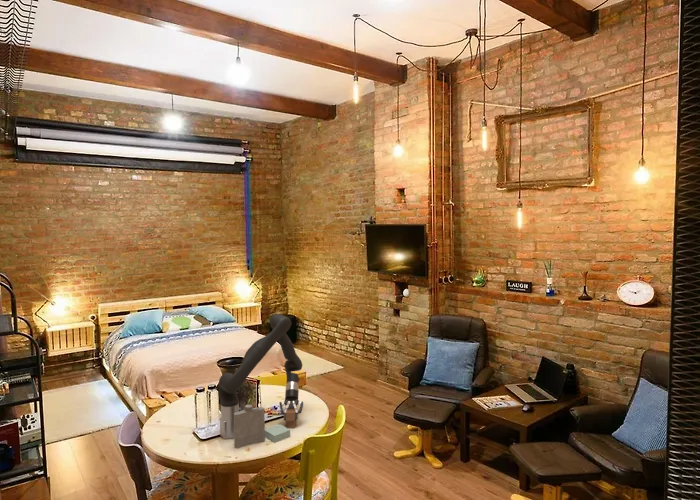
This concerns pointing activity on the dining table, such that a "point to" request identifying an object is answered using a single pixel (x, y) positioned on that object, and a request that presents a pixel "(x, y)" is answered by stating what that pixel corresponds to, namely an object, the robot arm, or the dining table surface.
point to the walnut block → (290, 418)
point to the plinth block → (277, 433)
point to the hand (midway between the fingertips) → (290, 420)
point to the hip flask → (249, 426)
